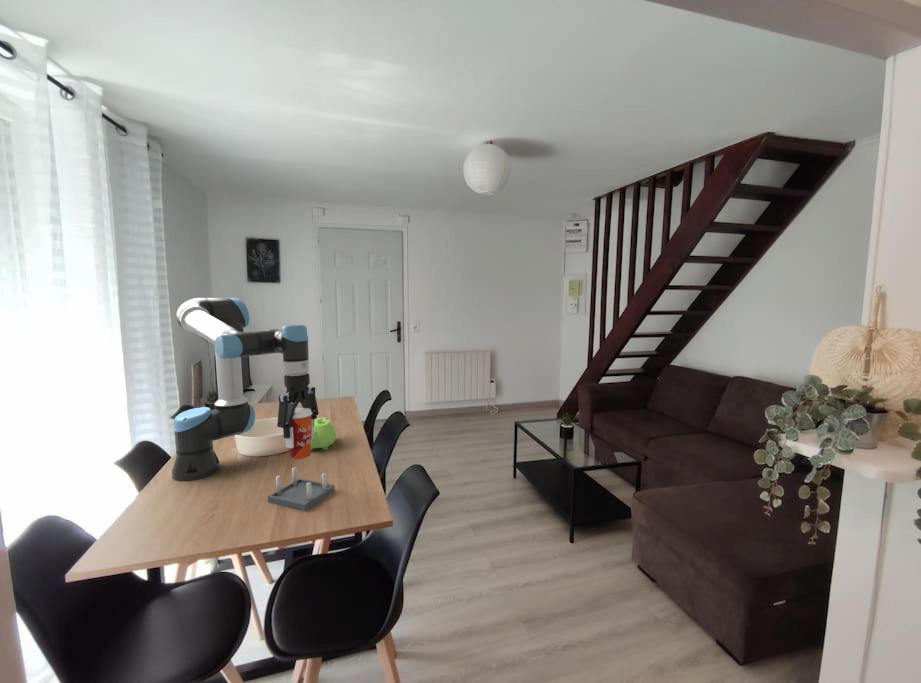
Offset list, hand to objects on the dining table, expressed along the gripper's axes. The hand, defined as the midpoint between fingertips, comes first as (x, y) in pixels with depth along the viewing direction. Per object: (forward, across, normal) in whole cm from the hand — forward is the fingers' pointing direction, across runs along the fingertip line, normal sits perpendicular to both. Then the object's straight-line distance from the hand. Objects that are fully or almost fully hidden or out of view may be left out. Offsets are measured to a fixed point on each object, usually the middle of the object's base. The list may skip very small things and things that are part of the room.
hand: (300, 442), depth 133 cm
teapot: (+18, +38, +25) cm, 49 cm away
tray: (+18, 0, 0) cm, 18 cm away
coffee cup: (+5, 0, 0) cm, 5 cm away
